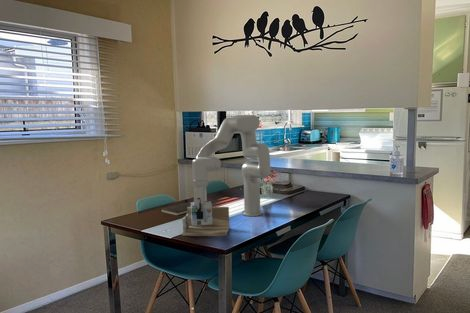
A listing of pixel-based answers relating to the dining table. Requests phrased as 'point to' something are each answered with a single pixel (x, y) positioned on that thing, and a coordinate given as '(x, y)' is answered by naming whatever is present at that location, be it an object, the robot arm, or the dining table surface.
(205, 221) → the light bulb box
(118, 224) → the dining table surface
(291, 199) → the dining table surface
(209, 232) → the shelf
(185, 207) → the hardcover book
